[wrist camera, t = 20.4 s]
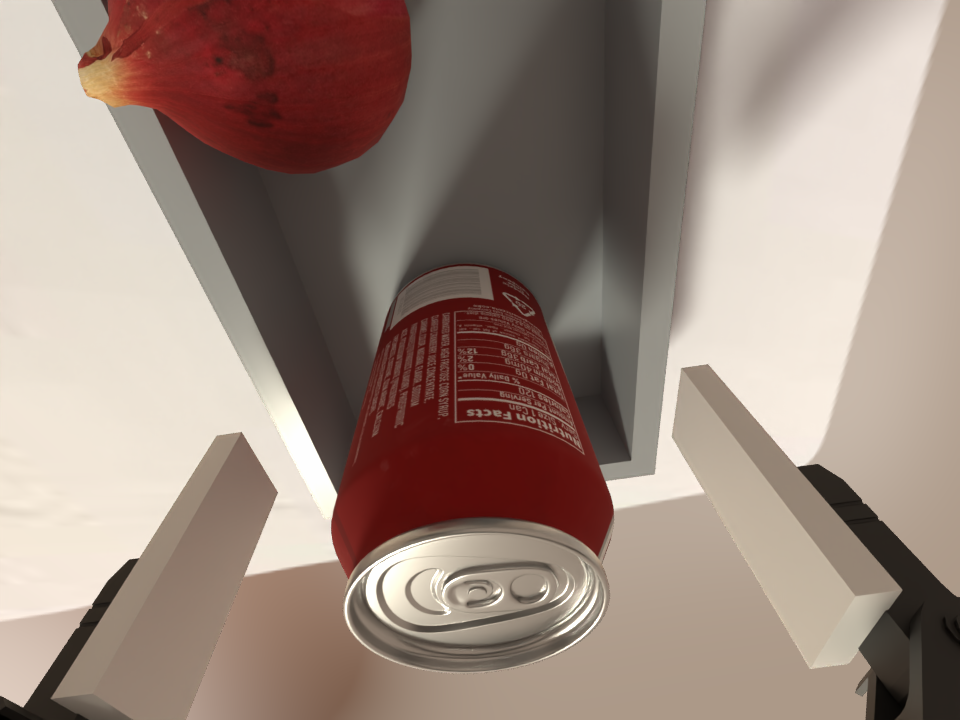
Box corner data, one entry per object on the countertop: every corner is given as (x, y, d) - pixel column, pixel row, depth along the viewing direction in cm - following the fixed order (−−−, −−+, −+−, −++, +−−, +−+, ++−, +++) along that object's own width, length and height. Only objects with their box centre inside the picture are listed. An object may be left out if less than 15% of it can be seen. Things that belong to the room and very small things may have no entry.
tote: (79, -209, 11) (-149, -380, 7) (644, -320, 11) (770, -577, 6) (347, 437, 23) (324, 519, 19) (617, 399, 23) (654, 474, 18)
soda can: (372, 262, 17) (260, 525, 7) (544, 248, 17) (667, 491, 7) (399, 398, 21) (351, 696, 11) (541, 386, 21) (621, 673, 11)
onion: (361, -218, 10) (-145, -339, 5) (514, 24, 11) (212, 106, 6) (298, 11, 14) (3, 57, 10) (410, 165, 15) (192, 272, 11)
